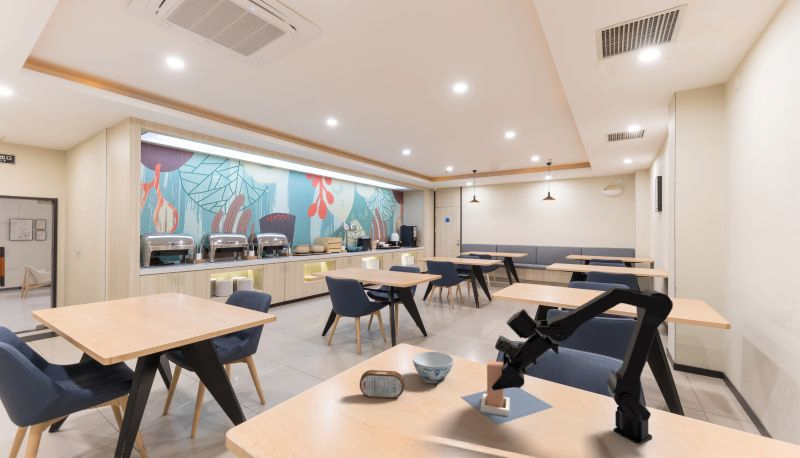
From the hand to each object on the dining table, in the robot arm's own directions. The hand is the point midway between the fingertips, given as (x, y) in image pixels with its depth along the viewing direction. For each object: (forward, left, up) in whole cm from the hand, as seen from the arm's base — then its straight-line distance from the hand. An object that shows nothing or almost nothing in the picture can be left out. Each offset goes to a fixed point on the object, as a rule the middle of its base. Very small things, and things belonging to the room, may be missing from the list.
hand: (493, 382), depth 101 cm
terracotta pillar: (0, 0, -7) cm, 7 cm away
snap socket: (0, 0, -7) cm, 7 cm away
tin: (+23, +28, -9) cm, 37 cm away
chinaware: (+27, +6, -9) cm, 29 cm away
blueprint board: (+1, -5, -9) cm, 10 cm away
